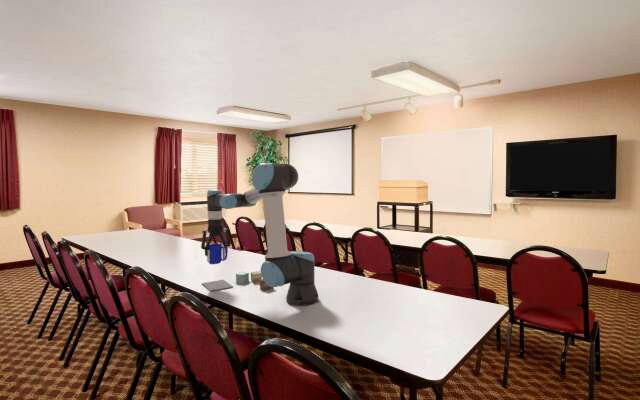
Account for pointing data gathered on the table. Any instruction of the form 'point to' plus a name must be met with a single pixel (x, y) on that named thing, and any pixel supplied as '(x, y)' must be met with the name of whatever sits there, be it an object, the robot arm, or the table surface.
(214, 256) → the mug
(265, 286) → the walnut block
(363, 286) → the table surface
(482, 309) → the table surface
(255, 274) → the oak block
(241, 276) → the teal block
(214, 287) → the trivet
